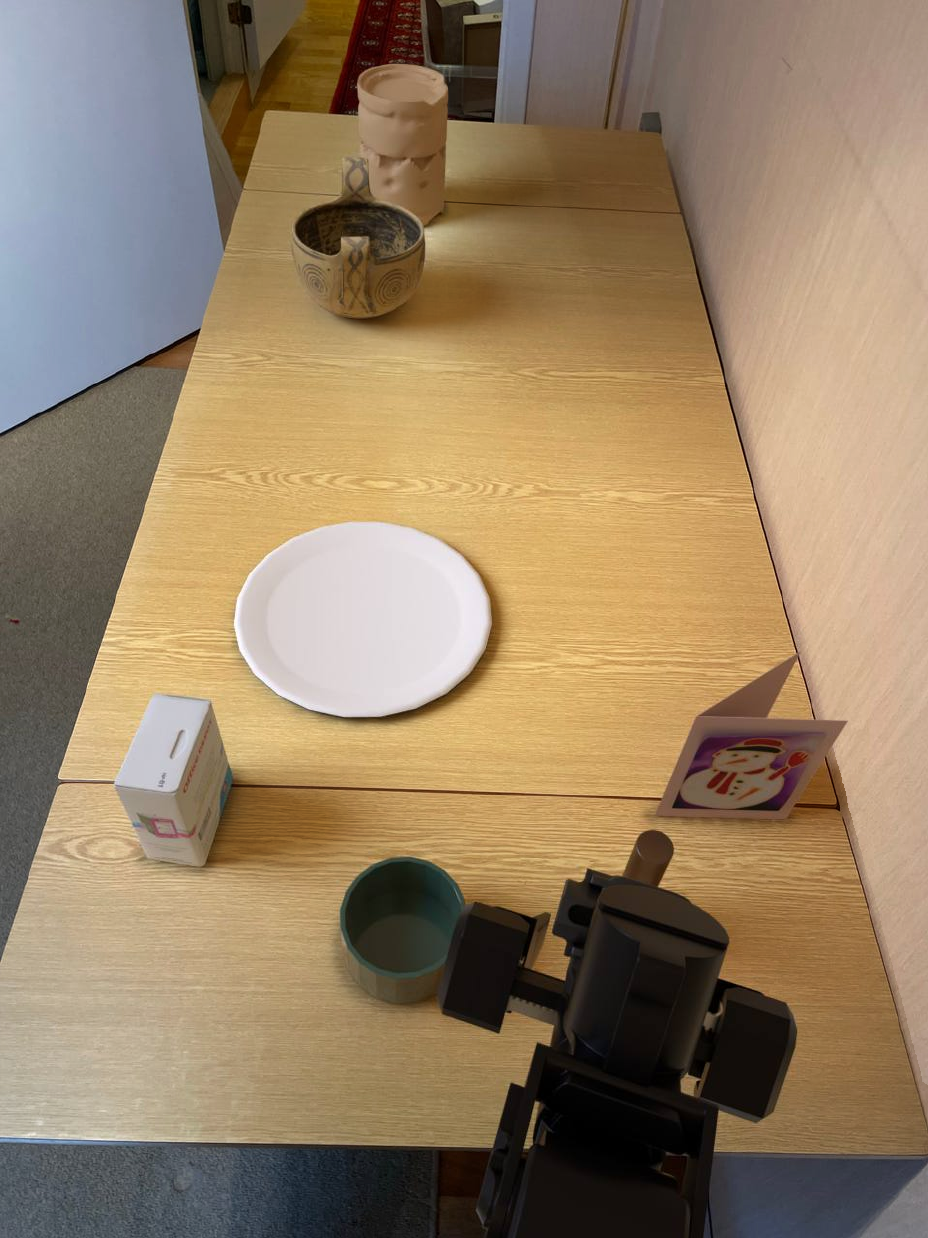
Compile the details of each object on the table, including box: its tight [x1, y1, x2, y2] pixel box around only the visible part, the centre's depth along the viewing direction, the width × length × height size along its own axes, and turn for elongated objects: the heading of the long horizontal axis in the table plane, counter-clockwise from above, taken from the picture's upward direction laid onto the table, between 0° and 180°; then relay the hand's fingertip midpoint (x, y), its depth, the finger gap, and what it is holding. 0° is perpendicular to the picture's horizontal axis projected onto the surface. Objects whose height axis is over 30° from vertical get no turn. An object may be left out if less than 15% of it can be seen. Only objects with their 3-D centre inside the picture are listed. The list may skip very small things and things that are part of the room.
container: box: [356, 63, 449, 227], centre depth 142 cm, size 13×13×18 cm
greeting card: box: [654, 650, 849, 820], centre depth 80 cm, size 11×7×15 cm, turn 90°
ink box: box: [113, 693, 234, 868], centre depth 77 cm, size 9×5×12 cm, turn 172°
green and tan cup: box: [339, 856, 467, 1006], centre depth 73 cm, size 9×9×6 cm
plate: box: [233, 521, 493, 719], centre depth 96 cm, size 25×25×1 cm
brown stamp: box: [621, 829, 675, 887], centre depth 72 cm, size 4×4×14 cm
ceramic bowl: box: [291, 156, 426, 320], centre depth 126 cm, size 22×17×15 cm
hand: (616, 942), depth 62 cm, fingers open, 9 cm apart
